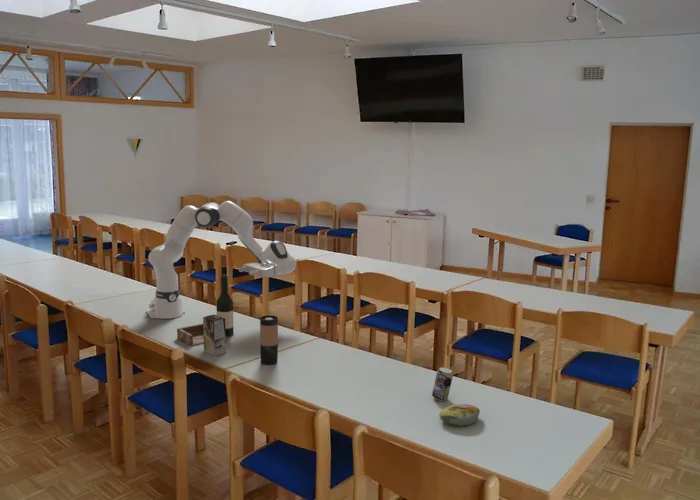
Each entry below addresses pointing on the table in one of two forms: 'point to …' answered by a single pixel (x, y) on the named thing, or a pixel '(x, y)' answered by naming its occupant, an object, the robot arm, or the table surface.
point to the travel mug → (269, 339)
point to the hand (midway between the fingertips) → (244, 271)
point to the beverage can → (442, 384)
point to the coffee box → (214, 334)
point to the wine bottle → (225, 306)
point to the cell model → (459, 414)
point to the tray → (191, 335)
